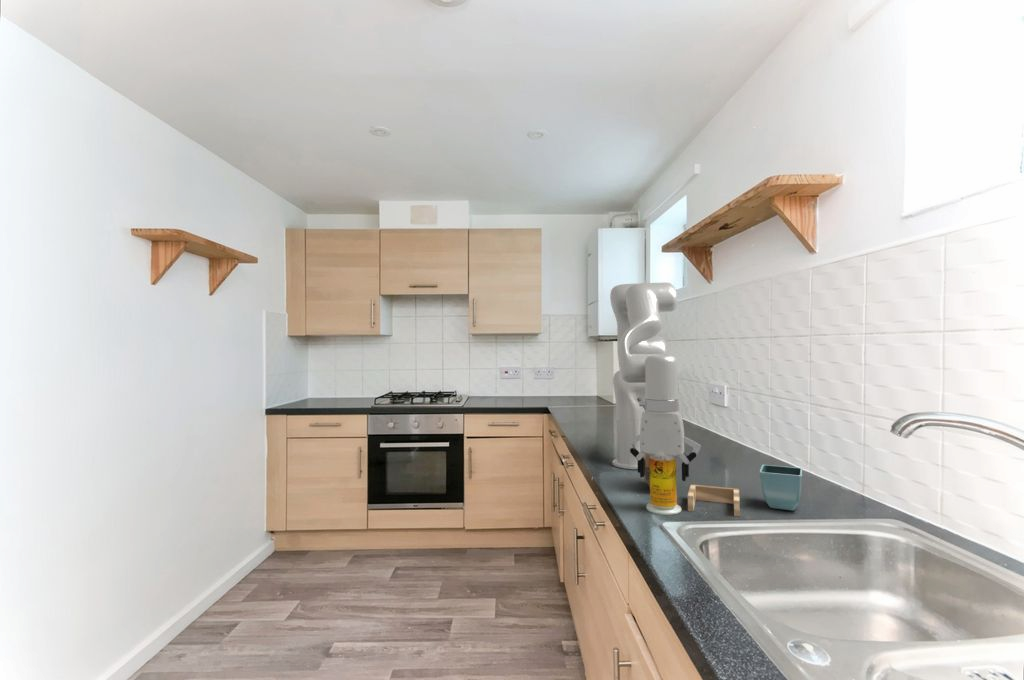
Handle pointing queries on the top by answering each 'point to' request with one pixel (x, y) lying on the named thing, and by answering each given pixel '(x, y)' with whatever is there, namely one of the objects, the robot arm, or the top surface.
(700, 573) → the top surface
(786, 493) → the flower pot
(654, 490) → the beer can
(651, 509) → the coaster
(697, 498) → the cradle
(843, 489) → the top surface
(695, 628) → the top surface
